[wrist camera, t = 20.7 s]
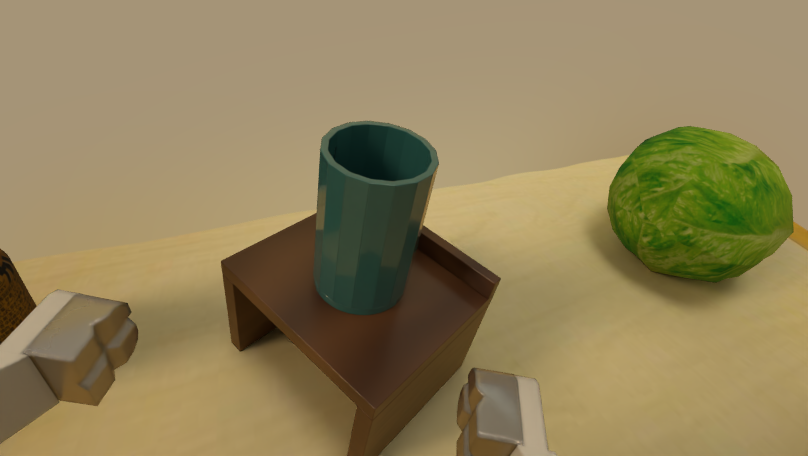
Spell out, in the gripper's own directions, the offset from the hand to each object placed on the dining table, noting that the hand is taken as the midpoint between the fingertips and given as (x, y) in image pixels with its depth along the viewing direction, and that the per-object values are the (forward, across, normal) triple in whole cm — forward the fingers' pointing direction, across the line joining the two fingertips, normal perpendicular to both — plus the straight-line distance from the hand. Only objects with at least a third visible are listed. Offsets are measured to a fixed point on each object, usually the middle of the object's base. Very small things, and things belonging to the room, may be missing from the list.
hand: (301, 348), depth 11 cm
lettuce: (+36, -34, +22) cm, 54 cm away
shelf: (+14, 0, +22) cm, 26 cm away
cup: (+14, 0, +13) cm, 19 cm away
